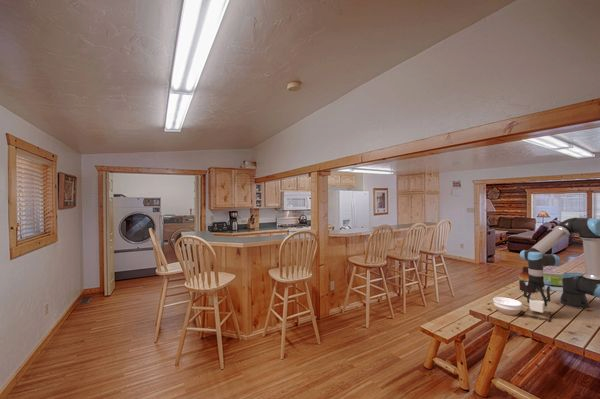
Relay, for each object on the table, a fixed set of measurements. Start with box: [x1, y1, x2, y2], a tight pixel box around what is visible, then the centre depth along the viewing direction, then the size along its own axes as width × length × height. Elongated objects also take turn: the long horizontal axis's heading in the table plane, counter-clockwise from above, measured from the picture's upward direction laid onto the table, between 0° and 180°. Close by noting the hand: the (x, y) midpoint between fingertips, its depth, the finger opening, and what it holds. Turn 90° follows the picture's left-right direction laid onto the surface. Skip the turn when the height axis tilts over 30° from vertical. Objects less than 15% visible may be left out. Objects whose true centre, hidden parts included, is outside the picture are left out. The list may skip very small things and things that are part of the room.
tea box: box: [542, 270, 563, 293], centre depth 227 cm, size 15×10×15 cm, turn 68°
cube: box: [529, 298, 544, 313], centre depth 176 cm, size 6×6×6 cm
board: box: [524, 307, 552, 323], centre depth 177 cm, size 12×14×2 cm
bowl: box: [492, 296, 523, 317], centre depth 184 cm, size 16×16×8 cm
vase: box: [518, 266, 537, 294], centre depth 224 cm, size 11×11×20 cm
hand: (537, 309), depth 176 cm, fingers closed on cube, 6 cm apart
